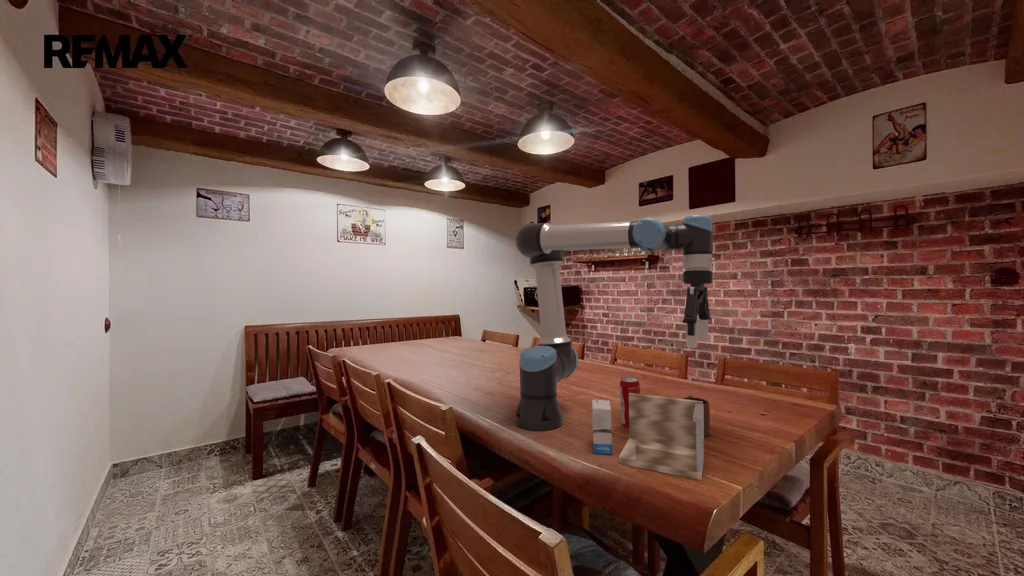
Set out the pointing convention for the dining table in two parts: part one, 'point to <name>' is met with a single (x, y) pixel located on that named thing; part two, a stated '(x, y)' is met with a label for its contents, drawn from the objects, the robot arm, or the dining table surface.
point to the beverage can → (627, 397)
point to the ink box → (602, 426)
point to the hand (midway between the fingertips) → (697, 344)
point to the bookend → (699, 435)
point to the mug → (706, 414)
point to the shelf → (662, 435)
